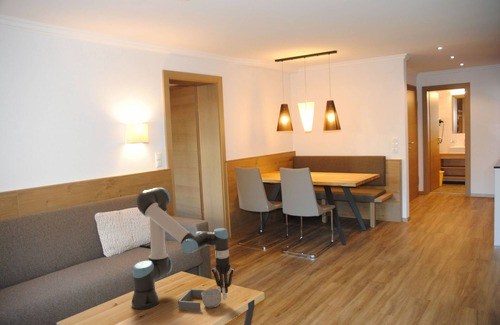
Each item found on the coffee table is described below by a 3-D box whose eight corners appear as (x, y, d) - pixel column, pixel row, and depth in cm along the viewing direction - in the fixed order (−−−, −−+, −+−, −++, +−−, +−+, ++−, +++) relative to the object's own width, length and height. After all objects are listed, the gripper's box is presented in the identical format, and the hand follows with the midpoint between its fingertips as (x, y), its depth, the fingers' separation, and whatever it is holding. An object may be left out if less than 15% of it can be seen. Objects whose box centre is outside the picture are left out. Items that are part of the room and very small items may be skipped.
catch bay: (178, 309, 223) (177, 301, 223) (191, 296, 240) (190, 289, 240) (200, 310, 220) (199, 302, 219) (211, 297, 237) (211, 290, 236)
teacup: (212, 311, 218) (211, 296, 217) (198, 307, 225) (197, 293, 224) (229, 301, 229) (228, 288, 228) (215, 298, 236) (214, 284, 235)
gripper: (208, 258, 221) (211, 300, 223) (231, 259, 218) (234, 301, 220) (213, 254, 228) (216, 295, 230) (235, 255, 225) (237, 296, 227)
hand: (224, 298), depth 225 cm, fingers closed
